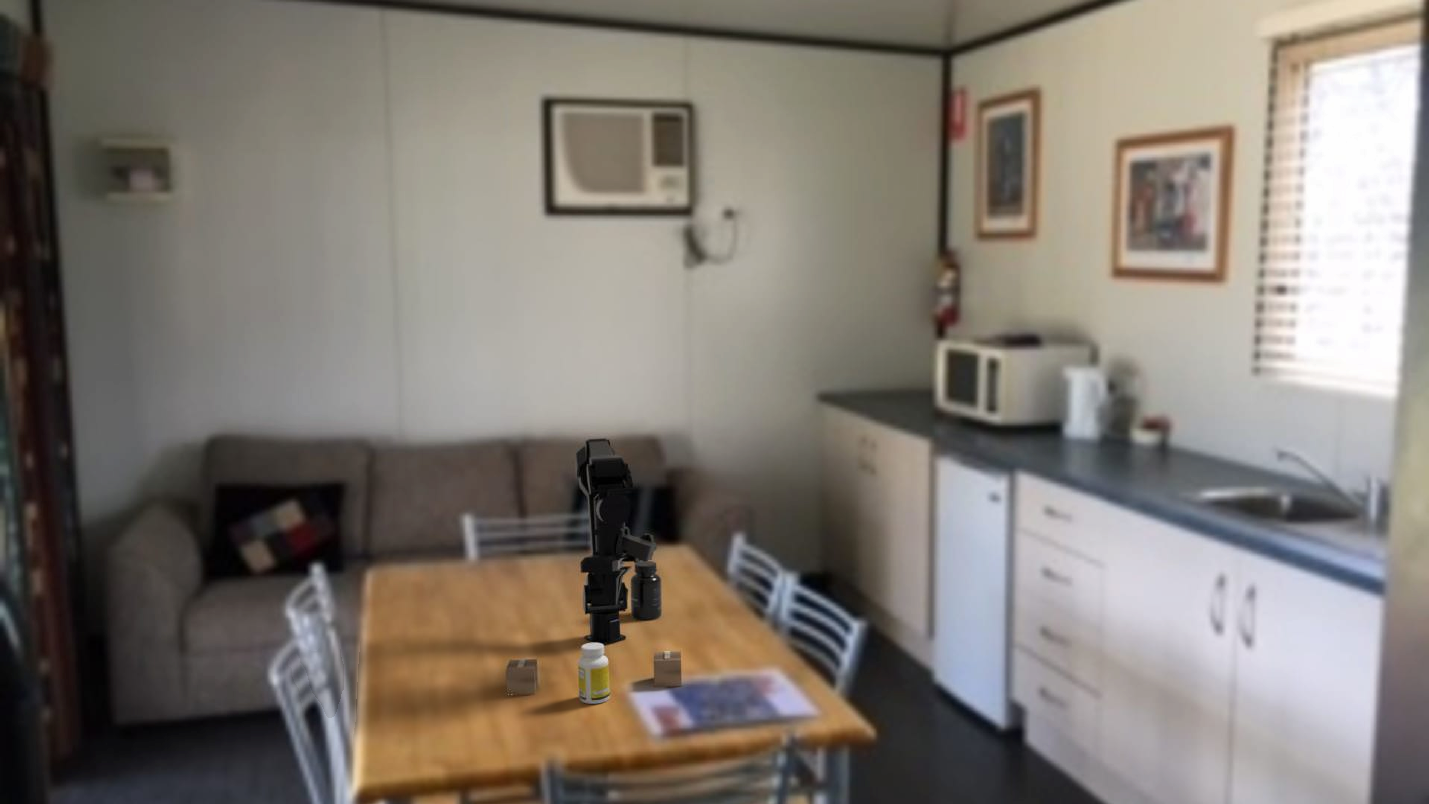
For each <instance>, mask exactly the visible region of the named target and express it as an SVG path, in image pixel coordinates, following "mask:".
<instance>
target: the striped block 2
mask: <svg viewBox="0 0 1429 804" xmlns="http://www.w3.org/2000/svg"><path fill="white" fill-rule="evenodd" d="M681 654H682V653H681V651H680V650H675V651H674V650H672V651H670V650H664V651H654V652H653V678H654V682H653V683H654V688H664V687H666V688H667V686H670V687H682V685H683V684H682V679H683V678H682V655H681Z"/></svg>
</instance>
